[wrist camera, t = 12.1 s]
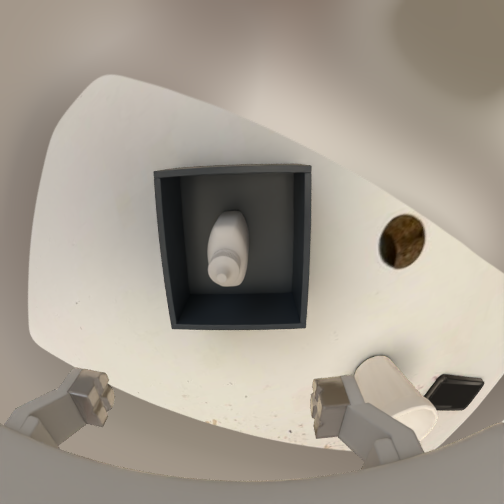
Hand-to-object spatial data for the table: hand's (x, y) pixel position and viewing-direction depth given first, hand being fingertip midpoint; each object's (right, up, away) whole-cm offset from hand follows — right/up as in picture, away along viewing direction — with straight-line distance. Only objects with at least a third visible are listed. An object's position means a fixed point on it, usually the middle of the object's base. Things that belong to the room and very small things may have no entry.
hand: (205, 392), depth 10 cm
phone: (+40, -21, +32) cm, 55 cm away
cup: (+20, -12, +29) cm, 37 cm away
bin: (0, +7, +23) cm, 24 cm away
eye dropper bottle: (0, +7, +22) cm, 24 cm away
